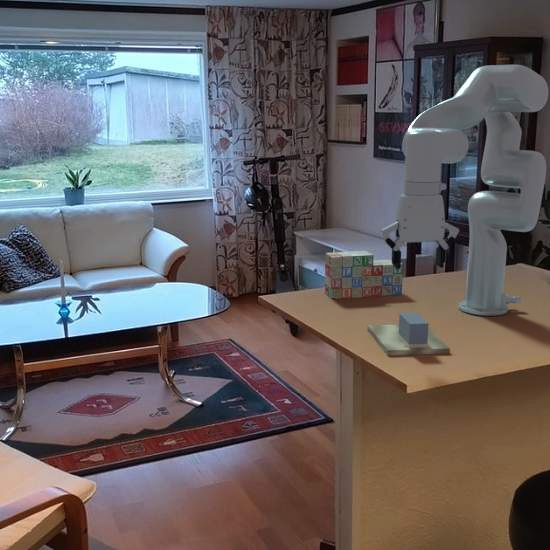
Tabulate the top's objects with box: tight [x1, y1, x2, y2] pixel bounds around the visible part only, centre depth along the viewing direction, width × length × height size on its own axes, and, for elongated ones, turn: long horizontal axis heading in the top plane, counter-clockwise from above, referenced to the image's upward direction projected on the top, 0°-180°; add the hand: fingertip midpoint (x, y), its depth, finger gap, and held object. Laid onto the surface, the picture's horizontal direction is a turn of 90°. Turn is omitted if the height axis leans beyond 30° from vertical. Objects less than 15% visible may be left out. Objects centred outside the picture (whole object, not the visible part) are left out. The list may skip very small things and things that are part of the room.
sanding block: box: [398, 312, 430, 348], centre depth 158 cm, size 4×8×6 cm, turn 7°
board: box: [367, 323, 451, 357], centre depth 163 cm, size 14×18×1 cm
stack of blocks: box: [324, 250, 404, 299], centre depth 202 cm, size 21×6×12 cm, turn 102°
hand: (418, 266), depth 155 cm, fingers open, 9 cm apart
